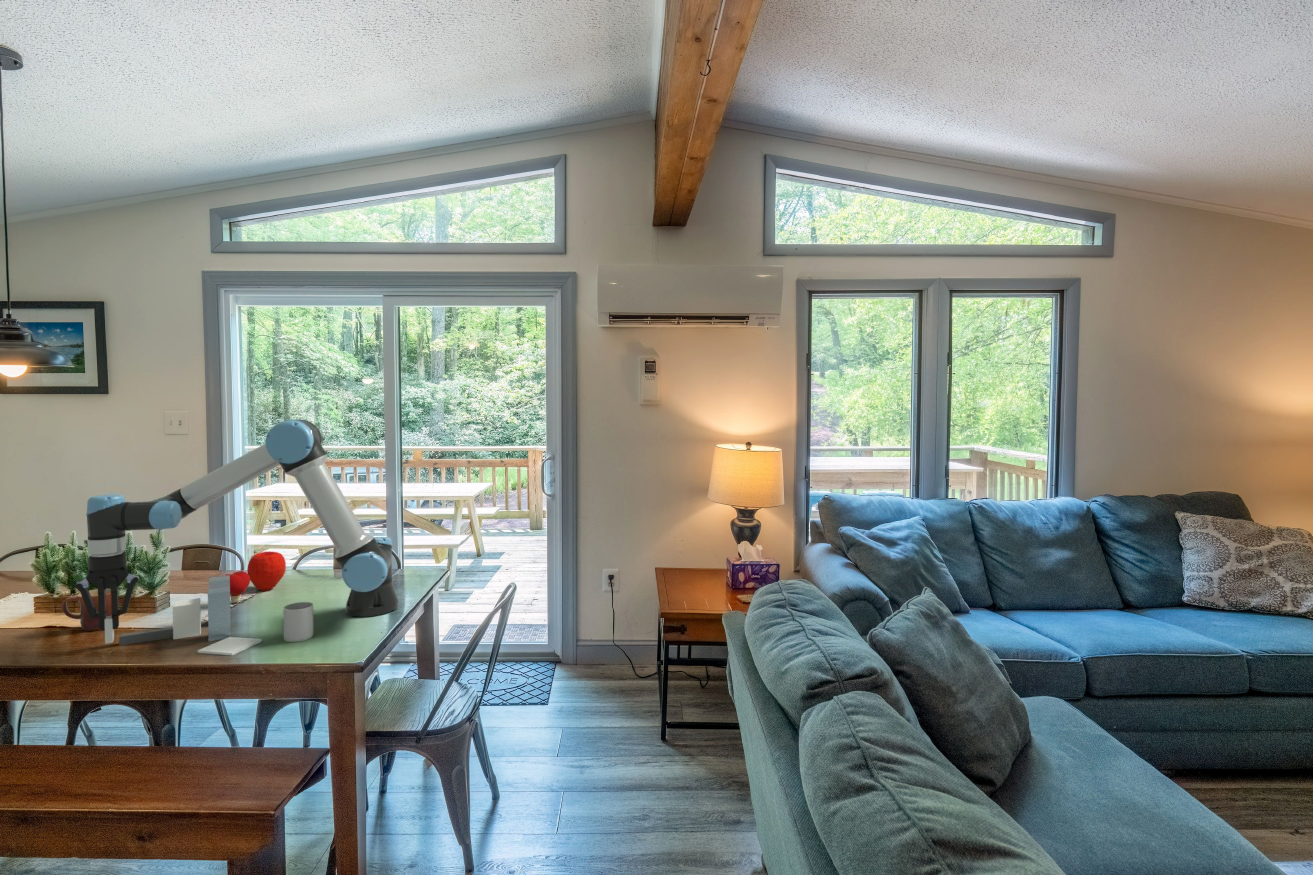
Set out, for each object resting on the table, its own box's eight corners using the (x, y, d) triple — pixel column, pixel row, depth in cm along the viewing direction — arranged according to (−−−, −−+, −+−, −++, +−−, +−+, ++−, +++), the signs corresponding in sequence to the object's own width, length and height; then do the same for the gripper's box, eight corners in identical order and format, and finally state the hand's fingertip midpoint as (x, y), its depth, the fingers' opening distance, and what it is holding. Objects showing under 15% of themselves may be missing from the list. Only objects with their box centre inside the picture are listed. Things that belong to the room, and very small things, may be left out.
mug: (122, 620, 186) (121, 586, 186) (113, 630, 178) (112, 594, 178) (69, 626, 180) (68, 591, 180) (57, 636, 173) (56, 599, 172)
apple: (293, 587, 222) (293, 550, 221) (257, 595, 212) (257, 556, 211) (276, 582, 228) (275, 546, 228) (240, 590, 218) (240, 552, 218)
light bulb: (232, 608, 199) (231, 577, 198) (213, 606, 200) (213, 575, 200) (256, 599, 208) (256, 569, 207) (238, 598, 209) (238, 568, 209)
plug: (118, 647, 165) (117, 614, 165) (121, 640, 170) (120, 608, 170) (200, 635, 175) (199, 603, 175) (201, 628, 180) (200, 597, 180)
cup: (281, 643, 169) (281, 611, 169) (287, 631, 178) (287, 600, 178) (311, 640, 172) (311, 608, 172) (316, 628, 181) (315, 598, 181)
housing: (230, 617, 190) (229, 575, 189) (230, 637, 173) (230, 591, 173) (210, 620, 187) (209, 577, 186) (208, 641, 170) (207, 594, 170)
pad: (261, 641, 171) (261, 639, 171) (232, 655, 161) (231, 653, 161) (229, 638, 172) (229, 636, 172) (197, 652, 162) (197, 650, 162)
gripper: (140, 548, 172) (142, 632, 173) (76, 553, 165) (79, 642, 166) (137, 553, 166) (139, 640, 167) (71, 559, 158) (73, 651, 159)
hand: (109, 641), depth 166 cm, fingers closed
